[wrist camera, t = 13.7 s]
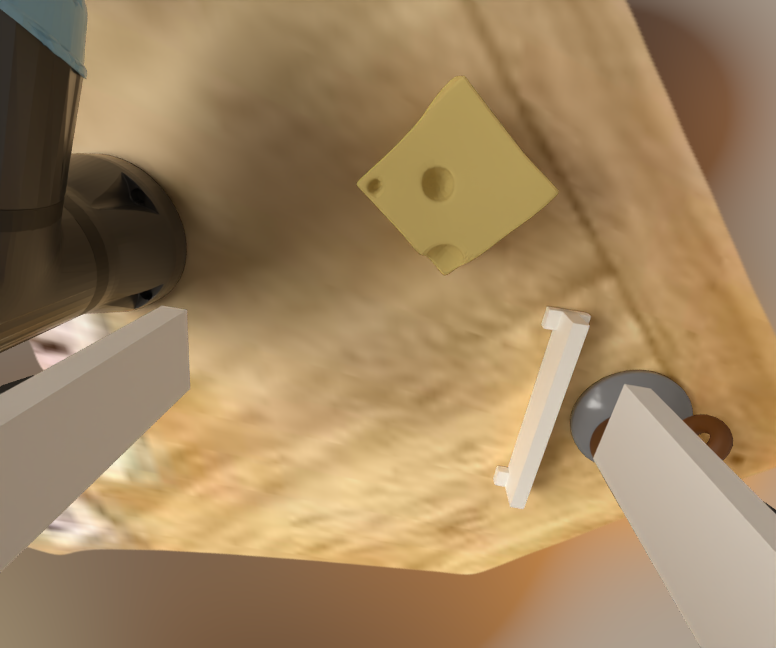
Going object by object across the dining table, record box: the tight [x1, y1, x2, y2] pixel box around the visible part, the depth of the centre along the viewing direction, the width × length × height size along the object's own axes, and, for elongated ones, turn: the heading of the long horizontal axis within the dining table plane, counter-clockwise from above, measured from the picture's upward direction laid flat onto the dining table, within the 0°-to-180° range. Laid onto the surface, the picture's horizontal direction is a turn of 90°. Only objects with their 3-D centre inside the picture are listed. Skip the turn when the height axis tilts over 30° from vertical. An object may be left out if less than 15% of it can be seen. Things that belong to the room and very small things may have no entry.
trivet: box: [570, 370, 693, 462], centre depth 44 cm, size 12×12×1 cm
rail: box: [493, 306, 591, 509], centre depth 43 cm, size 4×22×4 cm, turn 172°
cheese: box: [357, 76, 559, 275], centre depth 33 cm, size 10×11×10 cm
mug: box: [590, 414, 733, 508], centre depth 39 cm, size 12×8×9 cm, turn 154°
